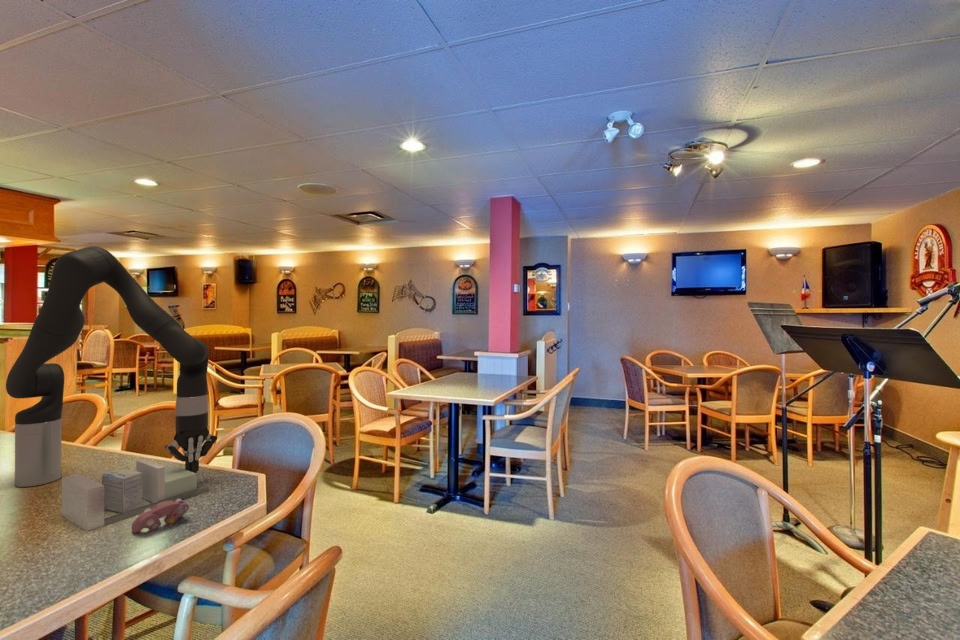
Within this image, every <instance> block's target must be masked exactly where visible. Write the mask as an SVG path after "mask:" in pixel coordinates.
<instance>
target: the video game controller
mask: <svg viewBox="0 0 960 640" xmlns="http://www.w3.org/2000/svg"><path fill="white" fill-rule="evenodd" d="M189 509H190V506H189V504H188V502H187V501H185V500H181V499H180V498H179V499H177V500H176V501H164V502H161V503H159V504H157V505H155V506H154V507H152V508H147V509H146V510H145V511H144V512H142V513H141V514H138V516H137V518H135V519H134V520H133V522H132V524H131V528H130V529H131V531H132V532H133V534H134V533H135V534H136V533H137V534H138V533H140V531H142V530H143V529H148V531H150V532H153V530H154V531H156V530H158V529H159V528H160V527H161V526H162V522H161V520H160V519H162V518H164V519H163V523H165V525H166V526H170V524H171V525H172V524H174V523H176V522H177V520H179V518H181V517H184V515H185V514H186V513H187V512H188V511H189ZM155 529H156V530H155Z"/></svg>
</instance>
